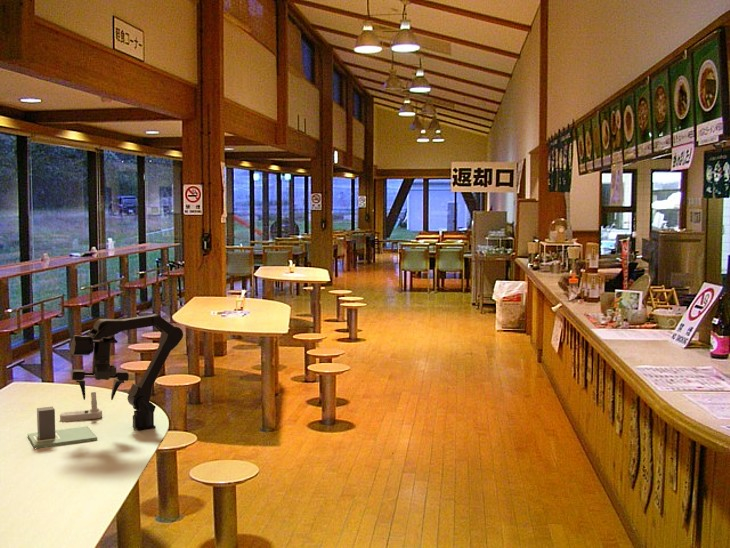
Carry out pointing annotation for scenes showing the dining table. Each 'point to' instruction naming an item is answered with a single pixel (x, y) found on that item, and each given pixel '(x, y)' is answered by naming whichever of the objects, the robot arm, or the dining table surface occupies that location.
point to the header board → (64, 437)
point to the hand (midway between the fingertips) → (98, 399)
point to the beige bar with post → (83, 412)
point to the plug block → (46, 423)
